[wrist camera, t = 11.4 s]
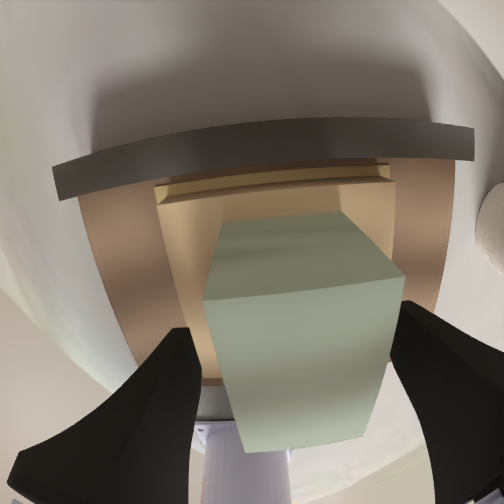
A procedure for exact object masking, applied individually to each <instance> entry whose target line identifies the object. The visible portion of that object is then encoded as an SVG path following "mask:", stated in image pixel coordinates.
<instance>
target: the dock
mask: <svg viewBox="0 0 504 504" xmlns="http://www.w3.org/2000/svg"><path fill="white" fill-rule="evenodd" d="M474 150H475V147H474V128H468V127H462V126H455V125H448V124H441V123H433V122H423V121H413V120H400V119H383V118H302V119H284V120H271V121H260V122H250V123H241V124H233V125H225V126H218V127H211V128H204V129H198V130H192V131H187V132H181V133H176V134H171V135H166V136H161V137H156V138H151V139H147V140H143V141H138V142H134V143H130V144H126V145H122V146H118V147H115V148H111V149H107V150H104V151H100V152H97V153H93V154H90V155H87V156H84V157H80V158H77V159H74V160H71V161H68V162H65V163H62V164H59V165H56V166H54V167H52V170H53V175H54V180H55V185H56V189H57V194H58V198H59V201H61V200H65V199H69V198H73V197H77V196H78V201H79V205H80V209H81V213H82V217H83V221H84V224H85V228H86V232H87V235H88V239H89V242H90V245H91V249H92V252H93V255H94V258H95V261H96V264H97V267H98V270H99V273H100V276H101V279H102V282H103V285H104V287H105V290H106V293H107V296H108V298H109V301H110V303H111V306H112V308H113V311H114V313H115V316H116V318H117V321H118V323H119V325H120V328H121V330H122V332H123V335H124V337H125V339H126V341H127V344H128V346H129V348H130V350H131V352H132V354H133V356H134V359H135V361H136V363H137V365H138V367H140V366H141V364H142V363H143V362H144V361H145V360H146V359H147V358H148V356H149V355H150V354H151V353H152V352H153V350H154V349H155V348H156V347H157V346H158V344H159V343H160V342H161V341H162V340H163V338H164V337H165V336H166V335H167V334H168V332H169V331H170V330H171V329H172V328H180V327H187V325H186V322H185V318H184V315H183V312H182V308H181V305H180V301H179V297H178V294H177V290H176V286H175V283H174V279H173V275H172V271H171V267H170V263H169V259H168V255H167V251H166V247H165V243H164V238H163V234H162V229H161V225H160V220H159V216H158V211H157V206H156V205H158V204H159V203H160V202H161V201H162V200H163V199H164V198H165V197H167V196H171V195H178V194H184V193H191V192H198V191H205V190H212V189H219V188H227V187H235V186H244V185H253V184H262V183H272V182H282V181H293V180H306V179H319V178H334V177H352V176H376V175H380V176H383V177H385V178H387V179H390V180H392V181H394V182H396V203H395V224H394V238H393V250H392V260H391V261H392V262H393V263H394V264H395V265H396V266H397V267H398V269H399V270H400V271H401V272H402V273H403V274H404V275H405V283H404V289H403V295H402V300H401V301H405V300H411V301H413V302H415V303H416V304H418V305H420V306H422V307H423V308H425V309H427V310H428V311H430V312H431V313H434V310H435V306H436V302H437V298H438V294H439V289H440V285H441V280H442V276H443V271H444V265H445V260H446V254H447V248H448V242H449V235H450V227H451V219H452V209H453V198H454V183H455V160H465V161H474ZM388 362H392V360H391V358H390V355H389V358H388ZM388 362H387V363H388ZM221 385H224V382H223V379H222V378H203V375H202V377H201V386H221Z"/></svg>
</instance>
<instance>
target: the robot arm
mask: <svg viewBox="0 0 504 504" xmlns="http://www.w3.org/2000/svg"><path fill="white" fill-rule="evenodd" d="M390 358H391V360H392V363H393V366H394V368H395V371H396V373H397V375H398V377H399V379H400V381H401V383H402V385H403V387H404V389H405V391H406V393H407V395H408V397H409V399H410V401H411V403H412V405H413V407H414V409H415V411H416V414H417V416H418V419H419V421H420V424H421V427H422V431H423V434H424V437H425V441H426V445H427V449H428V453H429V457H430V462H431V468H432V473H433V480H434V489H435V504H467V503H469V502H471V501H473V500H474V504H504V352H502V351H500V350H497V349H495V348H493V347H491V346H489V345H486V344H484V343H482V342H480V341H478V340H477V339H475V338H473V337H471V336H469V335H468V334H466V333H464V332H462V331H461V330H459V329H457V328H456V327H454V326H452V325H451V324H449V323H447V322H446V321H444V320H443V319H441V318H439V317H438V316H436V315H435V314H433V313H431V312H430V311H428V310H427V309H425V308H423V307H422V306H420V305H418V304H416V303H415V302H413V301H411V300H405V301H401V306H400V311H399V316H398V321H397V325H396V330H395V334H394V339H393V343H392V347H391V351H390ZM201 377H202V367H201V364H200V361H199V357H198V354H197V351H196V348H195V345H194V341H193V338H192V335H191V331H190V328H189V327H180V328H172V329H171V330H170V331H169V332H168V334H167V335H166V336H165V337H164V338H163V340H162V341H161V342H160V343H159V344H158V346H157V347H156V348H155V349H154V350H153V352H152V353H151V354H150V355H149V356H148V358H147V359H146V360H145V361H144V362H143V363H142V364H141V366H140V367H139V368H138V369H137V370H136V371H135V372H134V373H133V374H132V375H131V376H130V377H129V379H128V380H127V381H126V382H125V383H124V384H123V385H122V386H121V387H120V388H119V389H118V390H117V391H116V392H115V393H114V394H112V395H111V396H110V397H109V398H108V399H107V400H106V401H105V402H103V403H102V404H101V405H100V406H99V407H97V408H96V409H95V410H93V411H92V412H91V413H89V414H88V415H87V416H85V417H84V418H82V419H81V420H80V421H78V422H77V423H75V424H74V425H73V426H71V427H69V428H68V429H66V430H64V431H63V432H61V433H59V434H57V435H55V436H54V437H52V438H50V439H48V440H46V441H44V442H42V443H39V444H37V445H35V446H32V447H30V448H28V449H25V450H23V451H20V452H19V453H18V456H17V458H16V460H15V462H14V465H13V467H12V470H11V472H10V475H9V477H8V480H7V484H8V485H9V486H10V487H11V488H12V489H13V490H15V491H16V492H18V493H19V494H21V495H22V496H24V497H25V498H27V499H28V500H30V501H31V502H33V503H35V504H188V482H189V481H188V480H189V479H188V477H189V458H190V448H191V442H192V436H193V431H194V429H195V431H196V432H197V434H198V436H199V438H200V440H201V442H202V443H203V445H204V447H205V449H206V450H205V461H204V471H203V483H202V494H201V504H291V494H290V483H289V473H288V463H287V462H289V461H290V450H281V451H270V452H255V453H245V450H244V447H243V444H242V441H241V438H240V435H239V432H238V429H237V425H236V422H235V421H196V422H195V420H196V415H197V410H198V404H199V399H200V393H201ZM11 504H23V503H21V502H19V501H18V500H16V499H13V500H12V503H11Z"/></svg>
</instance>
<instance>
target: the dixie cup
mask: <svg viewBox="0 0 504 504" xmlns="http://www.w3.org/2000/svg"><path fill="white" fill-rule="evenodd" d="M475 236H476V244H477V247H478V250H479V252H480V253H481V255H482V256H483V257H484V258H485V259H486V260H487V261H488V262H489V263H490V264H491V265H492V266H493V267H494V268H495V269H496V270H497V271H498V272H499V273H500V274H501V275H502V277H503V278H504V183H500V184H497V185H496V186H494V187H493V188H492V189H491V190H490V191H489V193H488V194H487V195H486V197H485V199H484V201H483V203H482V205H481V207H480V210H479V213H478V217H477V222H476V231H475Z"/></svg>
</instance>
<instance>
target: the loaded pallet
mask: <svg viewBox="0 0 504 504" xmlns="http://www.w3.org/2000/svg"><path fill="white" fill-rule="evenodd" d="M395 203H396V182H394V181H392V180H390V179H387V178H385V177H383V176H380V175H376V176H352V177H334V178H319V179H306V180H293V181H282V182H272V183H262V184H253V185H244V186H235V187H227V188H219V189H212V190H205V191H198V192H191V193H184V194H178V195H171V196H167V197H165V198H164V199H163V200H162V201H161V202H160V203H159V204H158V205H156V206H157V211H158V216H159V220H160V225H161V229H162V234H163V238H164V243H165V247H166V251H167V255H168V259H169V263H170V267H171V271H172V275H173V279H174V283H175V286H176V290H177V294H178V297H179V301H180V305H181V308H182V312H183V315H184V318H185V322H186V325H187V327H189V328H190V331H191V335H192V338H193V341H194V345H195V348H196V351H197V354H198V357H199V361H200V364H201V367H202V375H203V378H222V379H223V382H224V386H225V389H226V393H227V396H228V399H229V403H230V406H231V409H232V413H233V416H234V419H235V422H236V425H237V429H238V432H239V435H240V438H241V441H242V444H243V447H244V450H245V453H255V452H270V451H281V450H290V449H298V448H305V447H312V446H318V445H324V444H330V443H335V442H340V441H345V440H350V439H354V438H359V437H363V435H364V432H365V430H366V427H367V424H368V422H369V419H370V416H371V413H372V410H373V408H374V405H375V402H376V399H377V396H378V393H379V389H380V386H381V383H382V380H383V376H384V373H385V369H386V366H387V362H388V358H389V355H390V351H391V347H392V343H393V339H394V334H395V330H396V325H397V321H398V316H399V311H400V306H401V300H402V295H403V289H404V283H405V275H404V274H403V273H402V272H401V271H400V270H399V269H398V267H397V266H396V265H395V264H394V263H393V262H392V261H391V260H392V250H393V238H394V224H395Z"/></svg>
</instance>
